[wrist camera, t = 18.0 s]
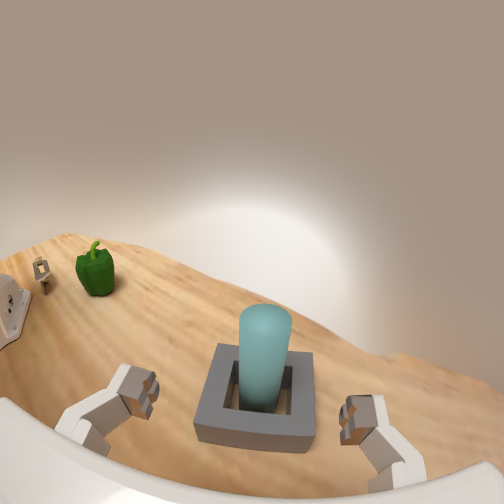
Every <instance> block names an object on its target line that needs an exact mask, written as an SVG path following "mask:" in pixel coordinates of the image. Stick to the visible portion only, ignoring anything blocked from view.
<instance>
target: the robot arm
mask: <svg viewBox="0 0 504 504" xmlns="http://www.w3.org/2000/svg"><path fill="white" fill-rule="evenodd" d="M31 297H32V294H31V292H30V291H28V290H26V289H20V288H19V287H18V285H17V283H16V281H15V280H14V278H13V277H11V276H9V275H6V274H2V273H0V349H1V348H3V347H4V346H5V345H6V344H8V343H9V342H12V341H14V340H16V339H17V338H19V336H20V334H21V331H22V327H23V323H24V320H25V316H26V313H27V310H28V307H29V303H30V300H31ZM155 378H156V374H155V372H154V371H150V370H146V369H142V368H139V367H135V366H133V365H129V364H126V363H122V364H121V365H120V366H119V368H118V370H117V371H116V373H115V375H114V376H113V378H112V380H111V382H110V384H109V385H108V387H107V389H102V390H100V391H98V392H96V393H95V394H93V395H91V396H89V397H87V398H85V399H84V400H82V401H80V402H78V403H76V404H74V405H72V406H71V407H69V408H67V409H66V410H65V411H64V413H63V415H62V417H61V418H60V420H59V422H58V424H57V425H56V427H55V429H54V430H53V429H52V428H50V427H48V426H47V425H45V424H44V423H42V422H41V421H39V420H38V419H36V418H35V417H33V416H32V415H30V414H29V413H27V412H26V411H25V410H23V409H22V408H20V407H19V406H18V405H16V404H15V403H14V402H13V401H11V400H10V399H8V398H6V397H2V398H0V504H504V476H503V474H502V472H501V471H500V470H499V469H497V468H496V467H495V466H494V465H493V464H491V463H490V462H488V461H486V460H484V461H480V462H478V463H476V464H473V465H471V466H468V467H466V468H463V469H461V470H458V471H456V472H453V473H450V474H447V475H444V476H441V477H438V478H435V479H432V480H428V481H427V478H426V472H425V466H424V461H423V456H422V455H421V454H420V453H419V452H418V451H417V450H416V449H415V448H414V447H413V446H412V445H411V444H410V443H409V442H408V441H407V440H406V439H405V438H404V437H403V436H402V435H401V434H400V433H399V432H398V430H397V429H396V428H395V427H394V426H390V424H389V419H388V414H387V409H386V405H385V400H384V396H383V395H381V394H377V395H350V396H348V397H347V399H346V404H344V405H343V406H342V407H341V410H340V414H339V424H340V425H341V427H342V428H343V429H342V431H341V432H340V440H341V445H359V447H360V448H361V450H362V451H363V453H364V454H365V455H366V457H367V458H368V460H369V461H370V462H371V464H372V465H373V467H374V468H375V469H376V471H377V472H378V473H379V474H377V475H376V476H375V477H373V478H372V479H370V480H369V481H368V492H369V494H362V495H354V496H345V497H333V498H309V499H294V498H269V497H257V496H247V495H239V494H232V493H225V492H219V491H214V490H208V489H204V488H199V487H194V486H190V485H186V484H182V483H178V482H174V481H171V480H167V479H164V478H161V477H157V476H154V475H151V474H148V473H145V472H142V471H139V470H137V469H134V468H131V467H129V466H126V465H123V464H121V463H119V462H116V461H114V460H111V459H109V458H107V455H108V453H109V451H110V448H111V445H110V444H109V442H108V441H107V440H106V439H105V438H104V436H106V435H107V434H108V433H110V432H111V431H112V430H114V429H115V428H117V427H118V426H119V425H121V424H122V423H123V422H125V421H126V420H127V419H129V418H130V417H131V415H132V416H136V417H139V418H142V419H146V420H149V417H150V415H151V413H152V410H153V407H152V403H154V402H155V401H157V398H158V395H159V383H158V382H157V381H156V380H155Z"/></svg>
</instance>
